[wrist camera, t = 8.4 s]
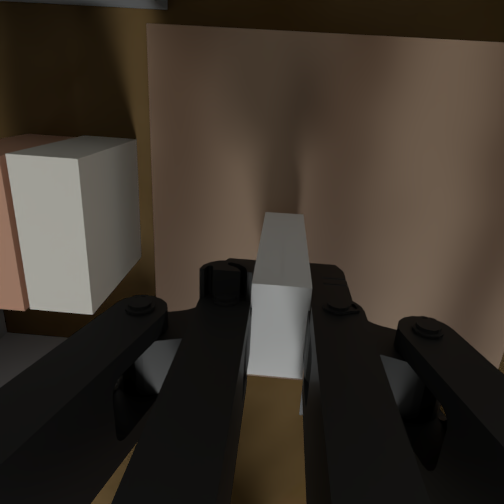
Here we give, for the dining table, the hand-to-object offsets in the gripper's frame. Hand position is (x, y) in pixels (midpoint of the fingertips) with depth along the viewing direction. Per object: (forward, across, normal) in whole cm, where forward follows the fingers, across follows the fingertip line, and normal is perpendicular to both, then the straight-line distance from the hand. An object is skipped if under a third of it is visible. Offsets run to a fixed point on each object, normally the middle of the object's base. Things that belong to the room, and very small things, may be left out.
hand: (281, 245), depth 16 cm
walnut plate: (+4, -2, 0) cm, 5 cm away
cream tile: (+1, +7, 0) cm, 7 cm away
